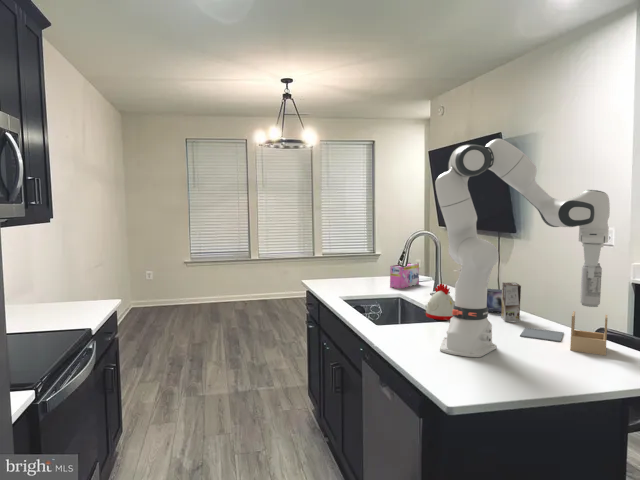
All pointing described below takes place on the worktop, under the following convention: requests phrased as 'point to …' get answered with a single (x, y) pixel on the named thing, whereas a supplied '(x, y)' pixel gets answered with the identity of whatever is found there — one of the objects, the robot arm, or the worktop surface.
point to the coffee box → (511, 302)
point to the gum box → (404, 275)
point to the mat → (542, 334)
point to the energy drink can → (591, 287)
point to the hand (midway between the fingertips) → (591, 276)
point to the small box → (494, 300)
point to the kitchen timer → (440, 304)
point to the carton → (588, 340)
